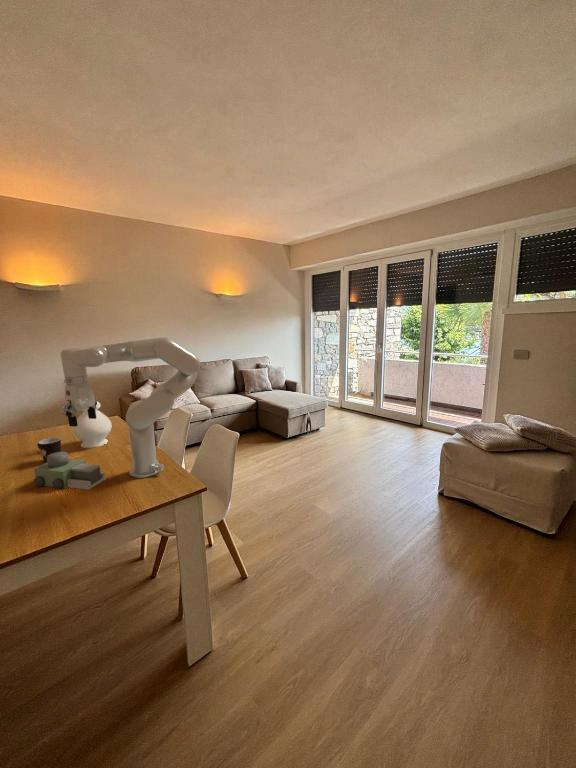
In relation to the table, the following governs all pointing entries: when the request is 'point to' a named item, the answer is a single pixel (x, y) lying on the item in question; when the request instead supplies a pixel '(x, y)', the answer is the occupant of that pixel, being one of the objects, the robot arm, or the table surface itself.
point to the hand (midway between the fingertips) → (83, 422)
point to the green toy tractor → (61, 473)
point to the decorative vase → (92, 429)
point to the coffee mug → (49, 446)
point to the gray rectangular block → (86, 472)
